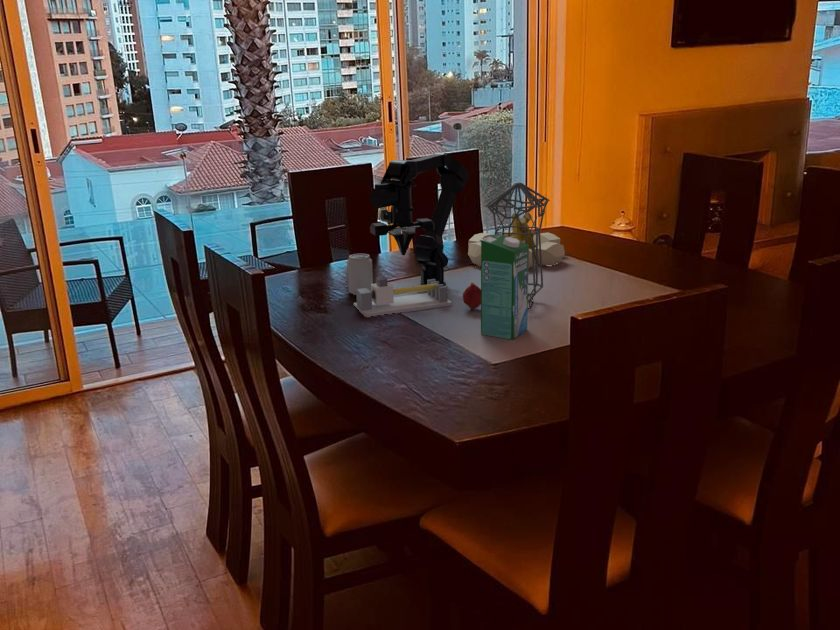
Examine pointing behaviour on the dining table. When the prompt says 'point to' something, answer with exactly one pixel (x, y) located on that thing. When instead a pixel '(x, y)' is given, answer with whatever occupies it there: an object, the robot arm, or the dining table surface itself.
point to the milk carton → (504, 286)
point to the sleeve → (382, 291)
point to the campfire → (549, 242)
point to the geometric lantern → (530, 197)
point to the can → (359, 272)
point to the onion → (472, 296)
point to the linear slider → (404, 299)
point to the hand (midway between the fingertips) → (403, 255)
